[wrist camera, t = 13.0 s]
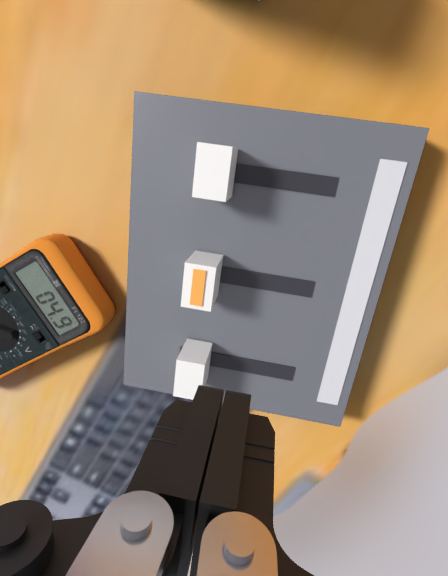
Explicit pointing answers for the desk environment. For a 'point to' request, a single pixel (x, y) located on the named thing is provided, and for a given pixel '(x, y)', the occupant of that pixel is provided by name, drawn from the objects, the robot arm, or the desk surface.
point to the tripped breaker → (201, 280)
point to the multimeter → (47, 302)
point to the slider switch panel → (264, 247)
